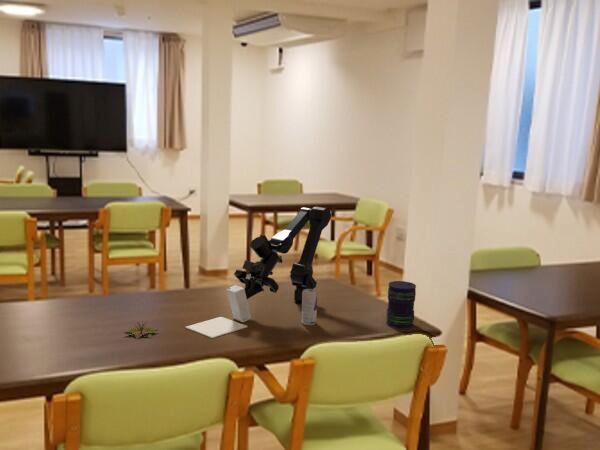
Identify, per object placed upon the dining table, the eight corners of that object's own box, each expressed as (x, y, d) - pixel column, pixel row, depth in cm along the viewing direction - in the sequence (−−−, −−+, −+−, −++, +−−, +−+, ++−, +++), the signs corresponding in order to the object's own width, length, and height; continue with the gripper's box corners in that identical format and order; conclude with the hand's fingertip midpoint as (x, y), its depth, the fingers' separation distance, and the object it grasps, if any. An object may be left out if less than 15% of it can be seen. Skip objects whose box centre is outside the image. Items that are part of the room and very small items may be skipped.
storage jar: (396, 330, 211) (399, 289, 209) (380, 322, 220) (382, 282, 217) (419, 327, 216) (422, 286, 213) (402, 318, 224) (405, 280, 222)
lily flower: (129, 327, 206) (128, 314, 206) (163, 328, 206) (163, 316, 205) (117, 340, 195) (117, 326, 194) (154, 341, 194) (154, 328, 194)
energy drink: (318, 321, 217) (319, 289, 215) (313, 326, 212) (314, 293, 210) (304, 319, 219) (305, 288, 217) (299, 324, 214) (300, 291, 212)
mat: (220, 317, 218) (220, 316, 218) (247, 327, 209) (247, 326, 209) (185, 327, 207) (185, 326, 207) (212, 338, 198) (212, 337, 197)
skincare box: (252, 318, 216) (245, 287, 212) (242, 323, 213) (235, 292, 209) (242, 313, 220) (235, 283, 217) (232, 318, 218) (225, 288, 214)
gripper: (238, 248, 223) (214, 281, 217) (274, 256, 211) (250, 292, 205) (252, 265, 230) (230, 298, 224) (288, 274, 218) (266, 310, 212)
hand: (243, 299), depth 216 cm, fingers closed
